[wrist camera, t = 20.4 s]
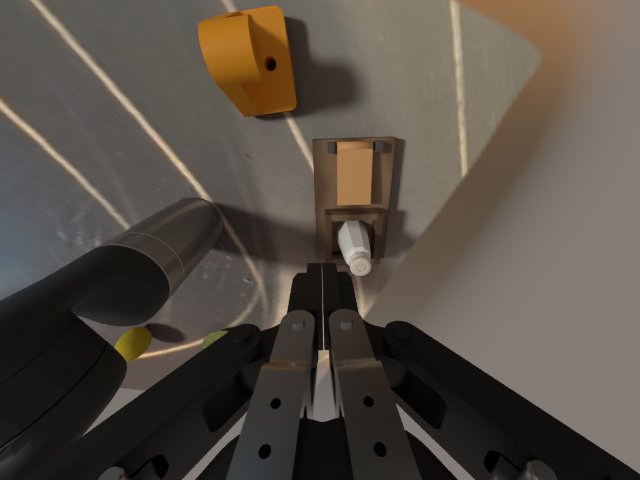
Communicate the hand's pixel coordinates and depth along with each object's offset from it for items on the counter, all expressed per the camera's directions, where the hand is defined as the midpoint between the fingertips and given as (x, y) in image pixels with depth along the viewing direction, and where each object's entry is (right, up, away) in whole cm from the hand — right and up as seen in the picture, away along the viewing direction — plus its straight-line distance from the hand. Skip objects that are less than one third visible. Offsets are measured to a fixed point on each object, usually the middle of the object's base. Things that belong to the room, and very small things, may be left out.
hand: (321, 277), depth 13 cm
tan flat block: (+5, +12, +24) cm, 27 cm away
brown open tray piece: (+5, +9, +28) cm, 30 cm away
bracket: (-7, +25, +20) cm, 33 cm away
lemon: (-39, -18, +41) cm, 60 cm away
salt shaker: (+5, +3, +29) cm, 29 cm away
